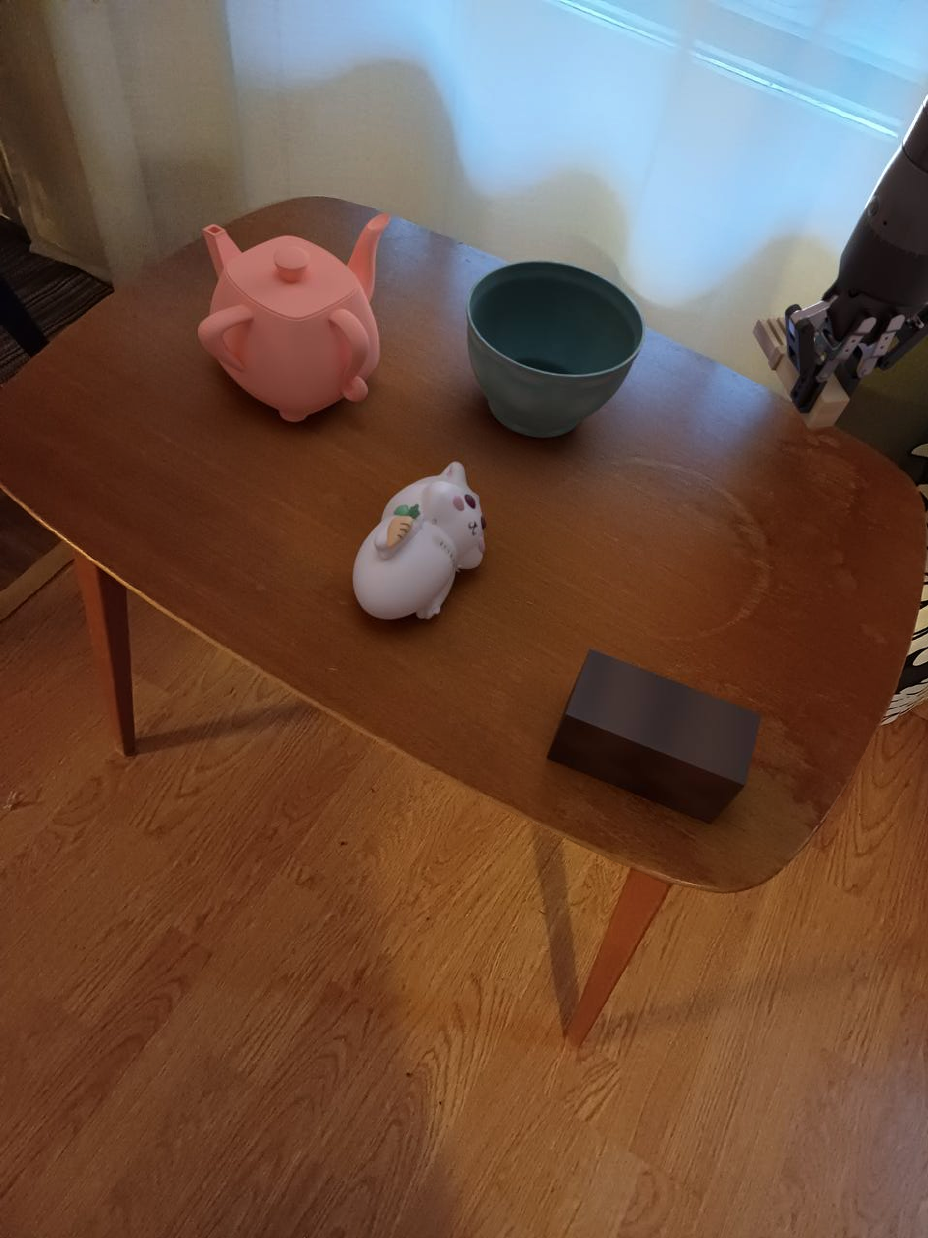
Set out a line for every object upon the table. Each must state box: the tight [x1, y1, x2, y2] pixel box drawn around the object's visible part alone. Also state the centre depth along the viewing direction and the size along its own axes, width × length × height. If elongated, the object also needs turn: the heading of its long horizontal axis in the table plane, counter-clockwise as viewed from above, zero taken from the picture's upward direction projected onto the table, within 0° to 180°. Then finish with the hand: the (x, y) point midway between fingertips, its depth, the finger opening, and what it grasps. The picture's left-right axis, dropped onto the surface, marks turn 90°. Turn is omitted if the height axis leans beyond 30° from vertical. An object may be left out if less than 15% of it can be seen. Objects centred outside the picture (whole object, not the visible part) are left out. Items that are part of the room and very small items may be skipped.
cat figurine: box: [352, 461, 487, 620], centre depth 75 cm, size 10×8×15 cm
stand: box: [546, 647, 762, 825], centre depth 68 cm, size 13×6×7 cm, turn 69°
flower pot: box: [465, 259, 647, 439], centre depth 87 cm, size 16×16×11 cm
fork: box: [751, 315, 851, 430], centre depth 81 cm, size 12×3×3 cm, turn 15°
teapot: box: [197, 212, 391, 423], centre depth 84 cm, size 16×17×14 cm
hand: (815, 404), depth 79 cm, fingers closed on fork, 2 cm apart
